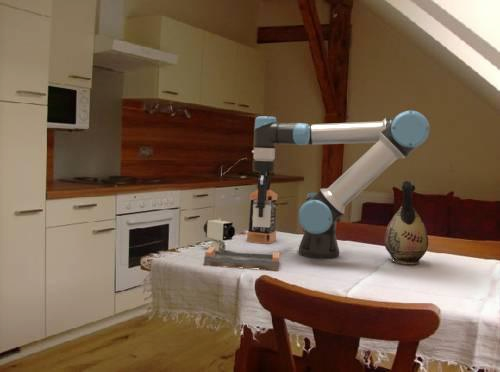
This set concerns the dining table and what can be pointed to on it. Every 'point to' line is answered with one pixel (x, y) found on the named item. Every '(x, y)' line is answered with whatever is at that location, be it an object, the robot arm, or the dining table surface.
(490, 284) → the dining table surface
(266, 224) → the din module
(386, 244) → the ceramic jug
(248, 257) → the rail board
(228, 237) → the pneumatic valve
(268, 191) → the whiskey bottle
